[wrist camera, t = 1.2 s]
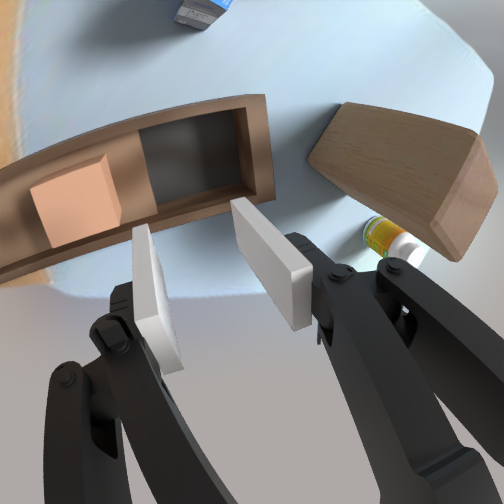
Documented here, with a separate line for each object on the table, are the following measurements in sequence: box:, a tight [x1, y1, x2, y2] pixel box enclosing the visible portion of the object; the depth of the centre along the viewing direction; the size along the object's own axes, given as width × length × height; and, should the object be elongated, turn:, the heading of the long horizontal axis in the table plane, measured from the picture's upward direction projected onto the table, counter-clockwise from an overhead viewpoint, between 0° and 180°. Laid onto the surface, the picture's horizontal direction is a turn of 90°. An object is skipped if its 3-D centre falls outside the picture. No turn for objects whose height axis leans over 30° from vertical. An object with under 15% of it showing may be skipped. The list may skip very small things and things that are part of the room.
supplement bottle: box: [363, 216, 424, 268], centre depth 42 cm, size 5×5×10 cm
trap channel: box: [0, 94, 276, 284], centre depth 24 cm, size 11×48×5 cm, turn 98°
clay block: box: [30, 154, 122, 248], centre depth 23 cm, size 6×7×4 cm
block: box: [307, 102, 498, 262], centre depth 28 cm, size 10×10×20 cm
